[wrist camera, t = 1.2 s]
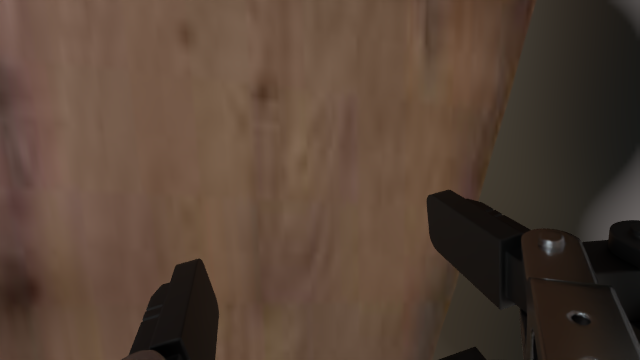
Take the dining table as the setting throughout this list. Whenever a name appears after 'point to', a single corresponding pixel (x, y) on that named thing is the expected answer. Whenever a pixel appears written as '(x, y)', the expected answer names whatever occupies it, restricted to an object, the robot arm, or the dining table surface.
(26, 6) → the dining table surface
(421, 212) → the dining table surface
